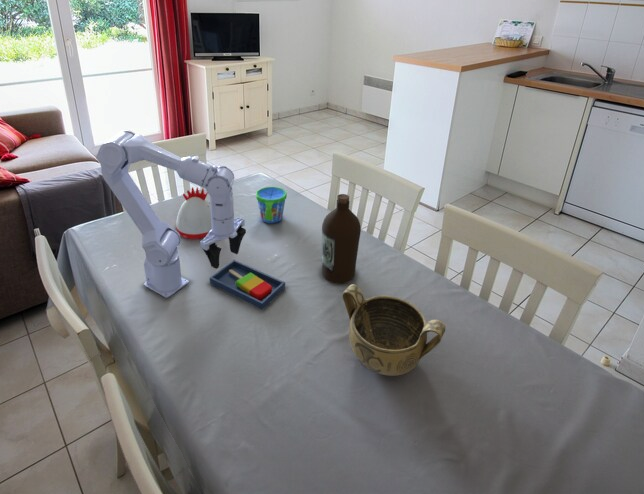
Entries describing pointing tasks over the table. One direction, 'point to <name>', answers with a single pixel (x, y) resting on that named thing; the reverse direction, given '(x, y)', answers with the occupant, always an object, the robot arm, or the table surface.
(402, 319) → the ceramic bowl
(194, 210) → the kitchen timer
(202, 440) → the table surface
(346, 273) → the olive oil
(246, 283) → the popsicle
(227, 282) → the tray
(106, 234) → the table surface
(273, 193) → the snack cup
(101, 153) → the robot arm
